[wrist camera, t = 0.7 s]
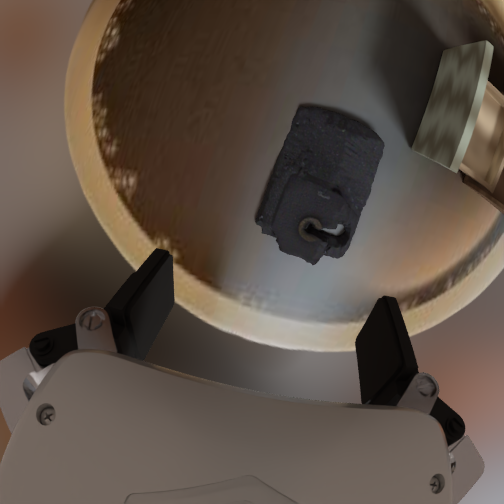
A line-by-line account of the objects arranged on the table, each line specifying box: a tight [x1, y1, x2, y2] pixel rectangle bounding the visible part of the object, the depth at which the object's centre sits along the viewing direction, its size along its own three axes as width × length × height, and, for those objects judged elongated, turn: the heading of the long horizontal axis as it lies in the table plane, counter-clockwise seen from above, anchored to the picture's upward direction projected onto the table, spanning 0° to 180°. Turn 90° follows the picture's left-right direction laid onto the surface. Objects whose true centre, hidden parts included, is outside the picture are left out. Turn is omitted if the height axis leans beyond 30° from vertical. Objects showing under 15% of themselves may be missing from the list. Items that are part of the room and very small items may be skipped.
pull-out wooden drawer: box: [411, 40, 504, 193], centre depth 22 cm, size 18×15×12 cm
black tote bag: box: [255, 106, 384, 265], centre depth 36 cm, size 15×22×5 cm
